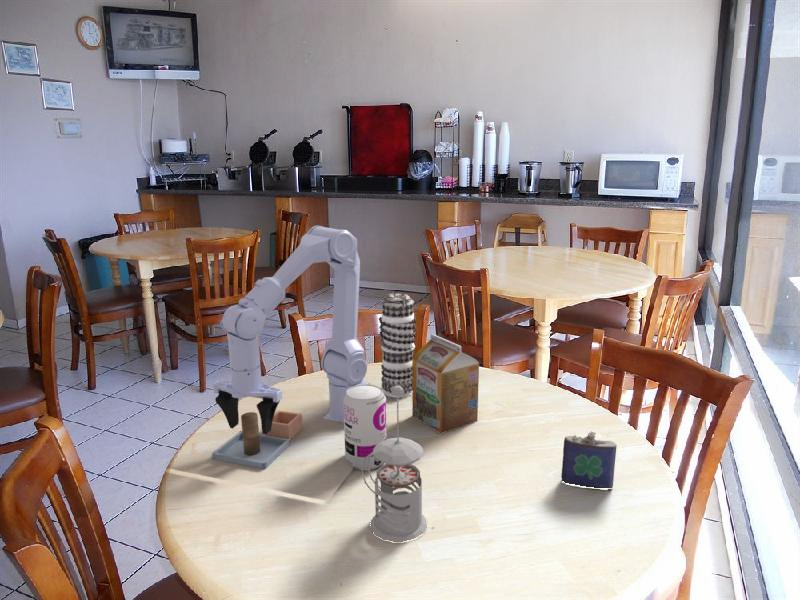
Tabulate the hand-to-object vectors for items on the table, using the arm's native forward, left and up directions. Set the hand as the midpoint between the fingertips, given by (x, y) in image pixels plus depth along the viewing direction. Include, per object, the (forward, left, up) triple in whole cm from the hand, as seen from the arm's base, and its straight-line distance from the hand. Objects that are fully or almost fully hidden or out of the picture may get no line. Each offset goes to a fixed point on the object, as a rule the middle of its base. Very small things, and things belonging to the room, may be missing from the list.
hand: (250, 429), depth 123 cm
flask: (-65, -10, -6) cm, 66 cm away
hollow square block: (-2, -10, -6) cm, 11 cm away
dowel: (0, 0, -5) cm, 5 cm away
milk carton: (-33, -28, -6) cm, 44 cm away
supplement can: (-23, -5, -6) cm, 24 cm away
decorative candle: (-18, -39, -6) cm, 43 cm away
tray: (0, 0, -6) cm, 6 cm away
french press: (-35, +12, -6) cm, 37 cm away
